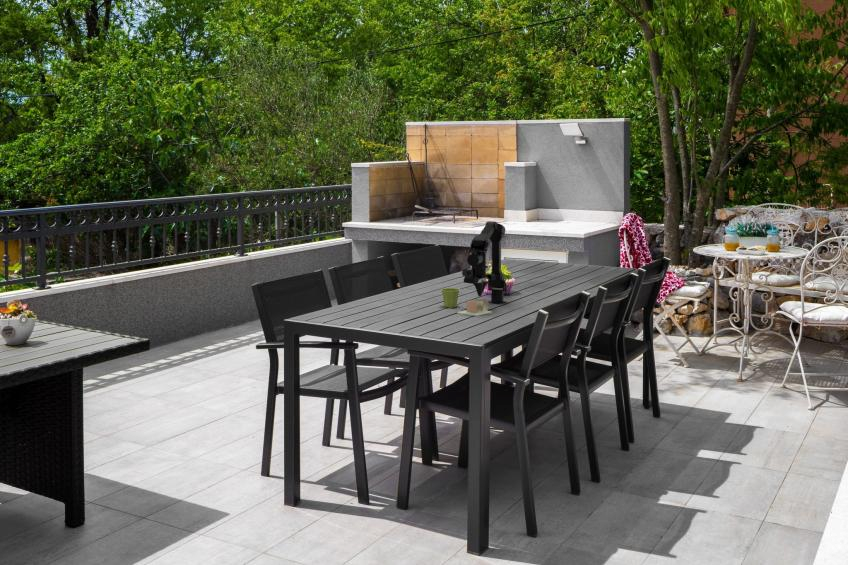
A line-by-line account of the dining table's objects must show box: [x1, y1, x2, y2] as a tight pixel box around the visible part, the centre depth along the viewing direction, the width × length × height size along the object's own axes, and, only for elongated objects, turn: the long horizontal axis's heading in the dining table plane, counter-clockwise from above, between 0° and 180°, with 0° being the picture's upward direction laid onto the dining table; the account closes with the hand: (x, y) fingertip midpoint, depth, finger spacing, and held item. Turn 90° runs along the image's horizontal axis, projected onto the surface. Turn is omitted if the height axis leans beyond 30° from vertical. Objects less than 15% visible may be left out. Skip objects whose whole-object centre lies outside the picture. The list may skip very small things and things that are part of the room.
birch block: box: [466, 298, 489, 313], centre depth 451 cm, size 5×5×10 cm
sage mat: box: [456, 309, 493, 317], centre depth 449 cm, size 12×12×1 cm
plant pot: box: [440, 287, 461, 309], centre depth 465 cm, size 9×9×9 cm
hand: (479, 296), depth 451 cm, fingers closed
